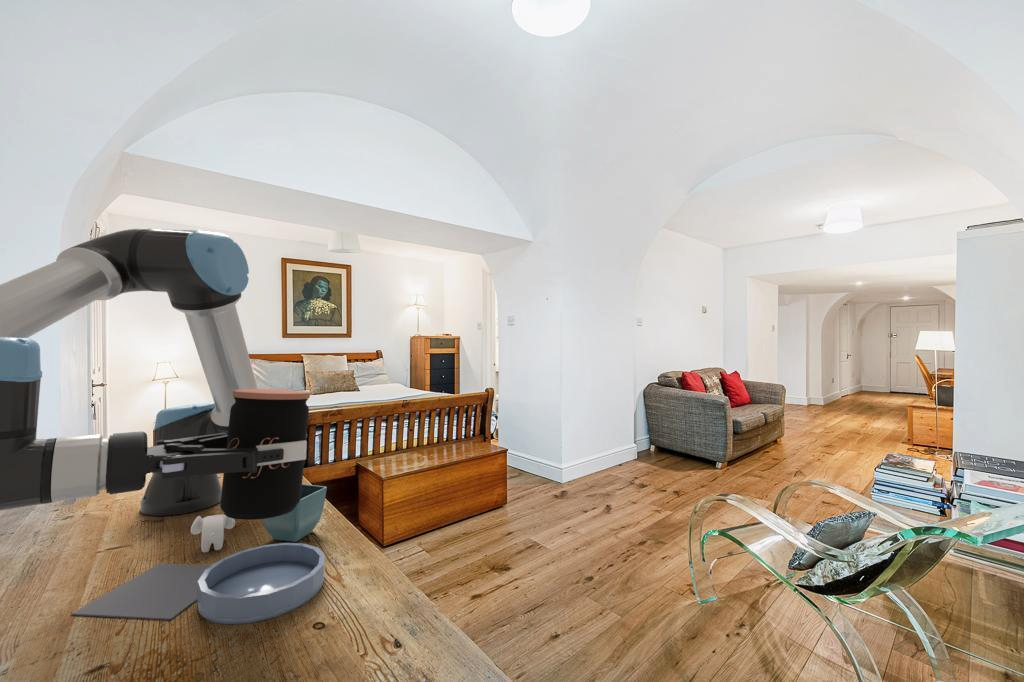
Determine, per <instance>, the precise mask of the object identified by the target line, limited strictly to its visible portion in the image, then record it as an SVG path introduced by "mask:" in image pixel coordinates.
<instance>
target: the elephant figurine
mask: <svg viewBox="0 0 1024 682" xmlns="http://www.w3.org/2000/svg"><path fill="white" fill-rule="evenodd" d="M235 520H236V519H233V518H229V517H227V516H226V515H225V514H215V515H214V514H213V515H207V516H205V517H203V518H202V517H201V515H198V516H197V517H195V519H194V520H193V522H192V525H191V527H190V534H192V535H199V534H200V533H201V541H200V543H201V544H200V545H201V547H200V549H201V552H202V553H208V552H210V549H211V545H212V544H213V549H214V550H215V551H220V550H221V549H222V548H223V544H224V530H225V529H227V530H232V529H233V528H234V527H235V525H236V521H235Z"/></svg>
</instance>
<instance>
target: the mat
mask: <svg viewBox="0 0 1024 682" xmlns="http://www.w3.org/2000/svg"><path fill="white" fill-rule="evenodd" d="M210 566H211V565H206V564H205V565H202V564H201V565H200V564H181V563H158V564H156V565H153V566H152V567H150V568H149V569H147V570H145V571H143V572H142V573H140V574H138V575H137V576H134V577H133V578H131V579H129V580H128V581H126V582H124V583H123V584H121V585H119V586H117V587H115V588H113V589H112V590H110V591H108V592H107V593H105V594H104V595H101V596H99V597H97V598H96V599H95V600H92V601H91V602H89V603H87V604H86V605H84V606H82V607H80V608H79V609H76V610H75V611H74V612H71V616H82V617H83V616H84V617H101V618H104V617H105V618H122V619H123V618H124V619H125V618H126V619H145V620H163V621H169V620H170V621H171V620H173V619H174V618H177V616H178V615H180V614H181V613H183V612H184V611H185V610H186V609H188V608H189V607H190V606H192V605H193V604H194V603H196V602H197V587H198V580H199V579H200V577H201V576H202V574H203V573H204V571H205V570H206V569H207V568H209V567H210Z"/></svg>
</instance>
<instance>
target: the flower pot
mask: <svg viewBox="0 0 1024 682" xmlns="http://www.w3.org/2000/svg"><path fill="white" fill-rule="evenodd" d="M327 488H328V487H327V486H326V485H325V486H324V485H315V484H314V485H312V484H306V483H305V484H304V483H302V490H301V499H300V501H299V503H298V504H297V505H296V507H295V508H294V509H293V511H291V512H289V513H287V514H284V515H280V516H277V517H272V518H266V519H262V523H263V526H264V528H265V530H266V532H267V533H268V534H269V536H270V537H271V538H272V539H273V540H276V541H283V540H284V541H285V542H290V541H291V542H290V543H297V542H298V541H300V540H301V539H303V538H304V537H306V536H308V535H309V534H311V533H313V531H314V529H316V527H317V524H318V523H319V522H320V519H321V517H322V514H323V511H324V507H325V501H326V496H327V495H326V494H327V491H328V490H327Z"/></svg>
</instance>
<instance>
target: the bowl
mask: <svg viewBox="0 0 1024 682" xmlns="http://www.w3.org/2000/svg"><path fill="white" fill-rule="evenodd" d="M325 563H326V554H325V553H324V552H323V551H322V550H321V549H320V548H319V547H317V546H315V545H310V544H307V543H301V542H299V543H298V542H280V543H270V544H263V545H260V546H256V547H252V548H247V549H245V550H244V549H243V550H239V551H238V552H236V553H233V554H231V555H228V556H226V557H223V558H221V559H219V560H218V561H216V562H215V563H213V564H211V565H209V566H210V567H209V568H207V569H206V570H205V571H204V573H203V574H202V576H201V577H200V579H199V580H198V587H197V601H196V602H197V610H198V613H199V615H200V616H201V618H203V619H205V620H206V621H208V622H212V623H214V624H215V623H216V624H220V625H242V624H243V625H244V624H245V625H247V624H252V623H257V622H258V623H259V622H262V621H265V620H266V621H267V620H269V619H273V618H277V617H279V616H282V615H285V614H287V613H290V612H291V611H294V610H296V609H298V608H299V607H301V606H303V605H305V604H306V603H307V602H309V601H310V600H312V599H313V598H314V597H315V596H316V595H317V594H318V593H319V592H320V590H321V588H323V585H324V579H325V565H326V564H325ZM311 598H312V599H311Z"/></svg>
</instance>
